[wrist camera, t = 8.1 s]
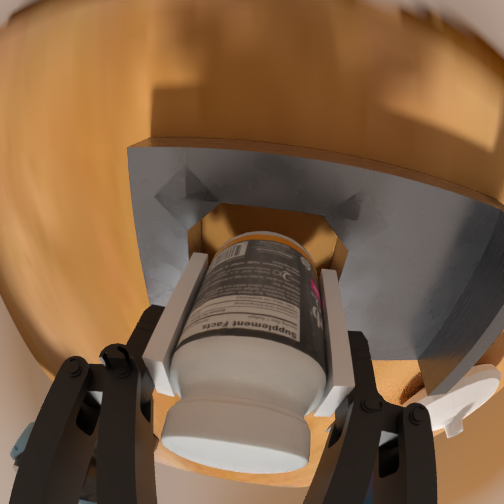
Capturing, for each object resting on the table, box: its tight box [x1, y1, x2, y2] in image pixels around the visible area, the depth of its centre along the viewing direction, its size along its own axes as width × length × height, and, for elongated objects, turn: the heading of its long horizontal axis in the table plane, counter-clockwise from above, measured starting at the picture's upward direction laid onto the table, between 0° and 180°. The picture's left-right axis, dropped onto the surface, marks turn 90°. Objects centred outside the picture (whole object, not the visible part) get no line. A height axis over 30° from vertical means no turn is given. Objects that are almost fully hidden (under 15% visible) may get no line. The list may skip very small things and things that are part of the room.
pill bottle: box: [161, 231, 327, 473], centre depth 11 cm, size 6×6×10 cm
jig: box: [127, 137, 504, 396], centre depth 14 cm, size 22×13×6 cm, turn 86°
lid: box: [402, 364, 501, 438], centre depth 21 cm, size 16×16×7 cm
